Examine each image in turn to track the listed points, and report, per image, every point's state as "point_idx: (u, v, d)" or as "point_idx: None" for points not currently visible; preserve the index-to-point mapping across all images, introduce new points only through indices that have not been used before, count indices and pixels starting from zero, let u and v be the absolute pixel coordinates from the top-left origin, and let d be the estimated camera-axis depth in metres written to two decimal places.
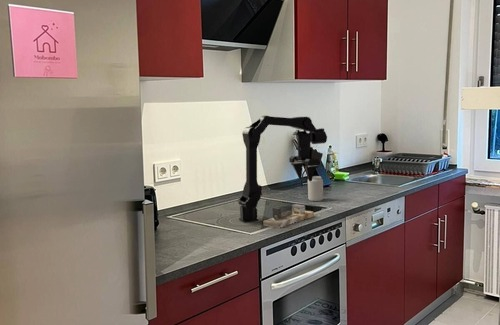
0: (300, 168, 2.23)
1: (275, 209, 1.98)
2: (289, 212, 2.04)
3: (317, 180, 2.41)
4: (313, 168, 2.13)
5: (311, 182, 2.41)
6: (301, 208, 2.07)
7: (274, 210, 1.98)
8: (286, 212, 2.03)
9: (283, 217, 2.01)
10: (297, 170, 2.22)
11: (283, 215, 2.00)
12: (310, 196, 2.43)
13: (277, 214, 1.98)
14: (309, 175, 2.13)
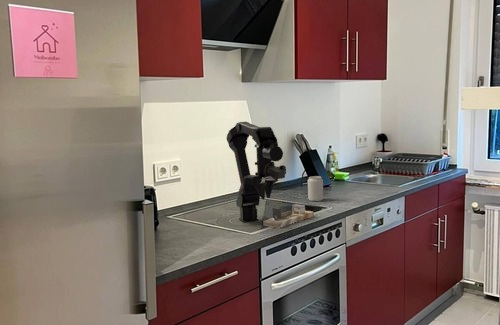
0: (269, 186, 1.94)
1: (275, 209, 1.98)
2: (289, 212, 2.04)
3: (317, 180, 2.41)
4: (261, 185, 1.90)
5: (311, 182, 2.41)
6: (301, 208, 2.07)
7: (274, 210, 1.98)
8: (286, 212, 2.03)
9: (283, 217, 2.01)
10: (266, 188, 1.95)
11: (283, 215, 2.00)
12: (310, 196, 2.43)
13: (277, 214, 1.98)
14: (259, 192, 1.92)
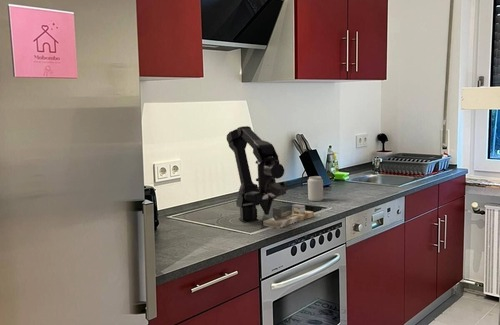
0: None
1: (275, 209, 1.98)
2: (289, 212, 2.04)
3: (317, 180, 2.41)
4: (265, 201, 1.92)
5: (311, 182, 2.41)
6: (301, 208, 2.07)
7: (274, 210, 1.98)
8: (286, 212, 2.03)
9: (283, 217, 2.01)
10: None
11: (283, 215, 2.00)
12: (310, 196, 2.43)
13: (277, 214, 1.98)
14: (263, 208, 1.94)
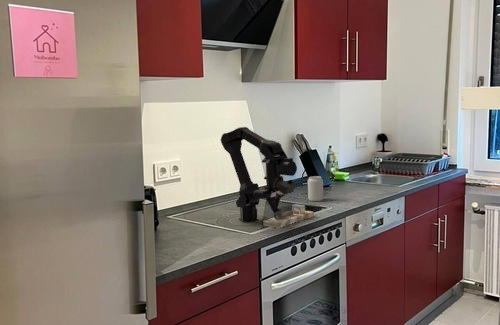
0: None
1: None
2: (290, 212, 2.04)
3: (317, 180, 2.41)
4: (273, 199, 1.95)
5: (311, 182, 2.41)
6: (301, 208, 2.07)
7: None
8: (287, 212, 2.03)
9: None
10: None
11: (284, 215, 2.01)
12: (310, 196, 2.43)
13: (278, 214, 1.98)
14: (271, 206, 1.97)
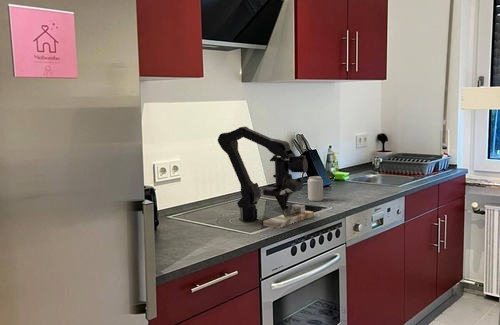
0: None
1: None
2: (298, 209, 2.08)
3: (317, 180, 2.41)
4: (282, 197, 1.99)
5: (311, 182, 2.41)
6: (301, 208, 2.07)
7: None
8: (295, 209, 2.07)
9: (292, 214, 2.06)
10: None
11: (292, 212, 2.05)
12: (310, 196, 2.43)
13: (287, 211, 2.02)
14: (279, 203, 2.01)
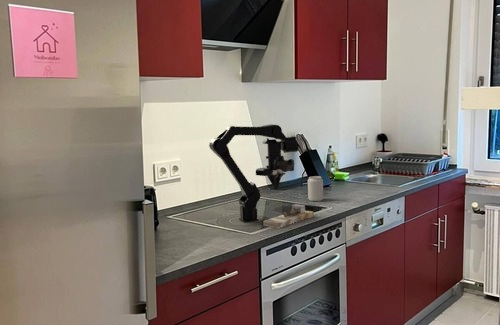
0: None
1: (285, 206, 2.03)
2: (298, 209, 2.08)
3: (317, 180, 2.41)
4: (274, 177, 2.10)
5: (311, 182, 2.41)
6: (301, 208, 2.07)
7: (284, 207, 2.03)
8: (295, 209, 2.07)
9: (292, 214, 2.06)
10: None
11: (292, 212, 2.05)
12: (310, 196, 2.43)
13: (287, 211, 2.02)
14: (272, 183, 2.12)
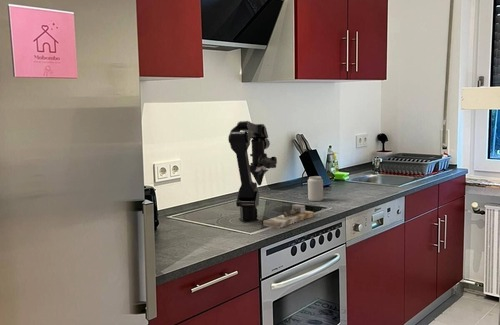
0: None
1: (285, 206, 2.03)
2: (298, 209, 2.08)
3: (317, 180, 2.41)
4: (257, 173, 2.23)
5: (311, 182, 2.41)
6: (301, 208, 2.07)
7: (284, 207, 2.03)
8: (295, 209, 2.07)
9: (292, 214, 2.06)
10: None
11: (292, 212, 2.05)
12: (310, 196, 2.43)
13: (287, 211, 2.02)
14: (256, 179, 2.25)
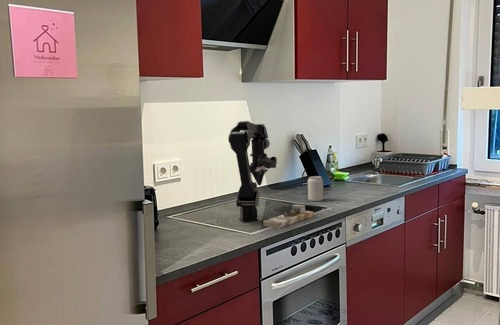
0: None
1: (285, 206, 2.03)
2: (298, 209, 2.08)
3: (317, 180, 2.41)
4: (257, 173, 2.23)
5: (311, 182, 2.41)
6: (301, 208, 2.07)
7: (284, 207, 2.03)
8: (295, 209, 2.07)
9: (292, 214, 2.06)
10: None
11: (292, 212, 2.05)
12: (310, 196, 2.43)
13: (287, 211, 2.02)
14: (256, 179, 2.25)
